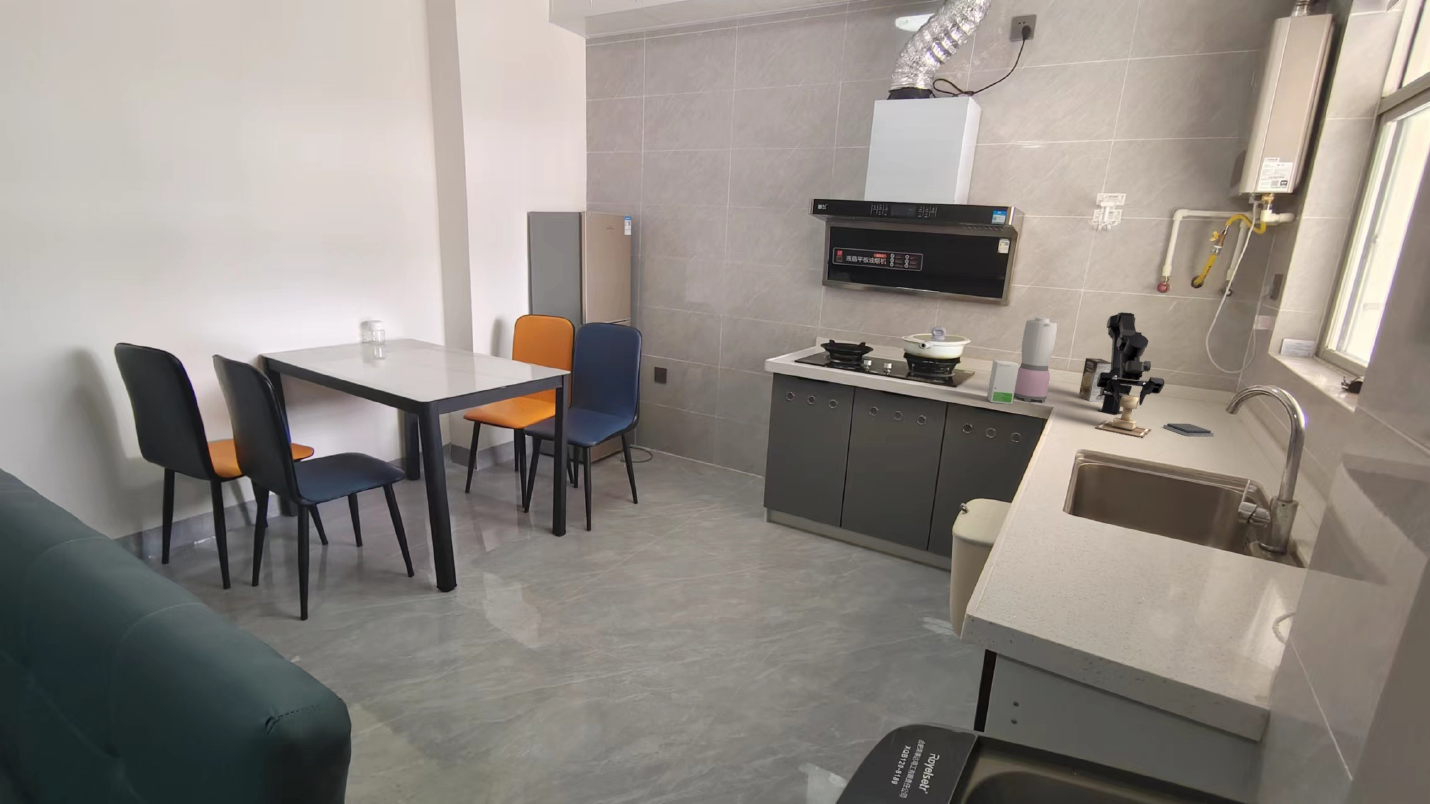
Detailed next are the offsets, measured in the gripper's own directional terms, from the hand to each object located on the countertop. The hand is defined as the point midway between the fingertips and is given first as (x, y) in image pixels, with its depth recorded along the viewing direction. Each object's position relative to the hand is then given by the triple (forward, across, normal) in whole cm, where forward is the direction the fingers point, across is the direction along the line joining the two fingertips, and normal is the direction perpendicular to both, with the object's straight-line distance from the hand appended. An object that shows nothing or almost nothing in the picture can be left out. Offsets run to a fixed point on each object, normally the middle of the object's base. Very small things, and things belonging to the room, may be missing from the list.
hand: (1129, 403), depth 222 cm
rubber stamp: (+5, 0, +7) cm, 9 cm away
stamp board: (+6, 0, +8) cm, 9 cm away
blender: (-18, -28, +32) cm, 46 cm away
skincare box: (-9, -38, +22) cm, 45 cm away
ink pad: (-1, +21, +14) cm, 25 cm away
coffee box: (-29, -4, +42) cm, 51 cm away
